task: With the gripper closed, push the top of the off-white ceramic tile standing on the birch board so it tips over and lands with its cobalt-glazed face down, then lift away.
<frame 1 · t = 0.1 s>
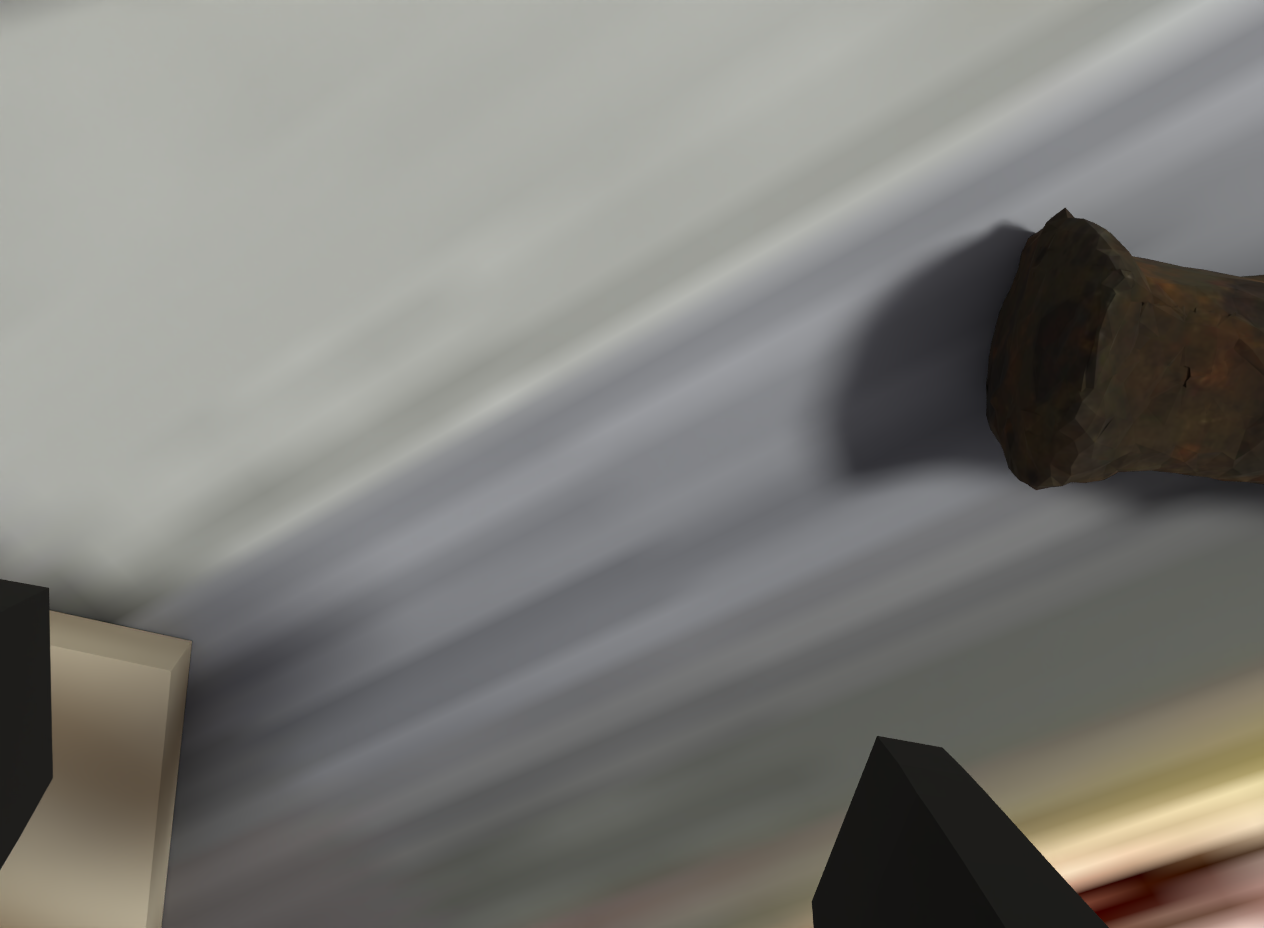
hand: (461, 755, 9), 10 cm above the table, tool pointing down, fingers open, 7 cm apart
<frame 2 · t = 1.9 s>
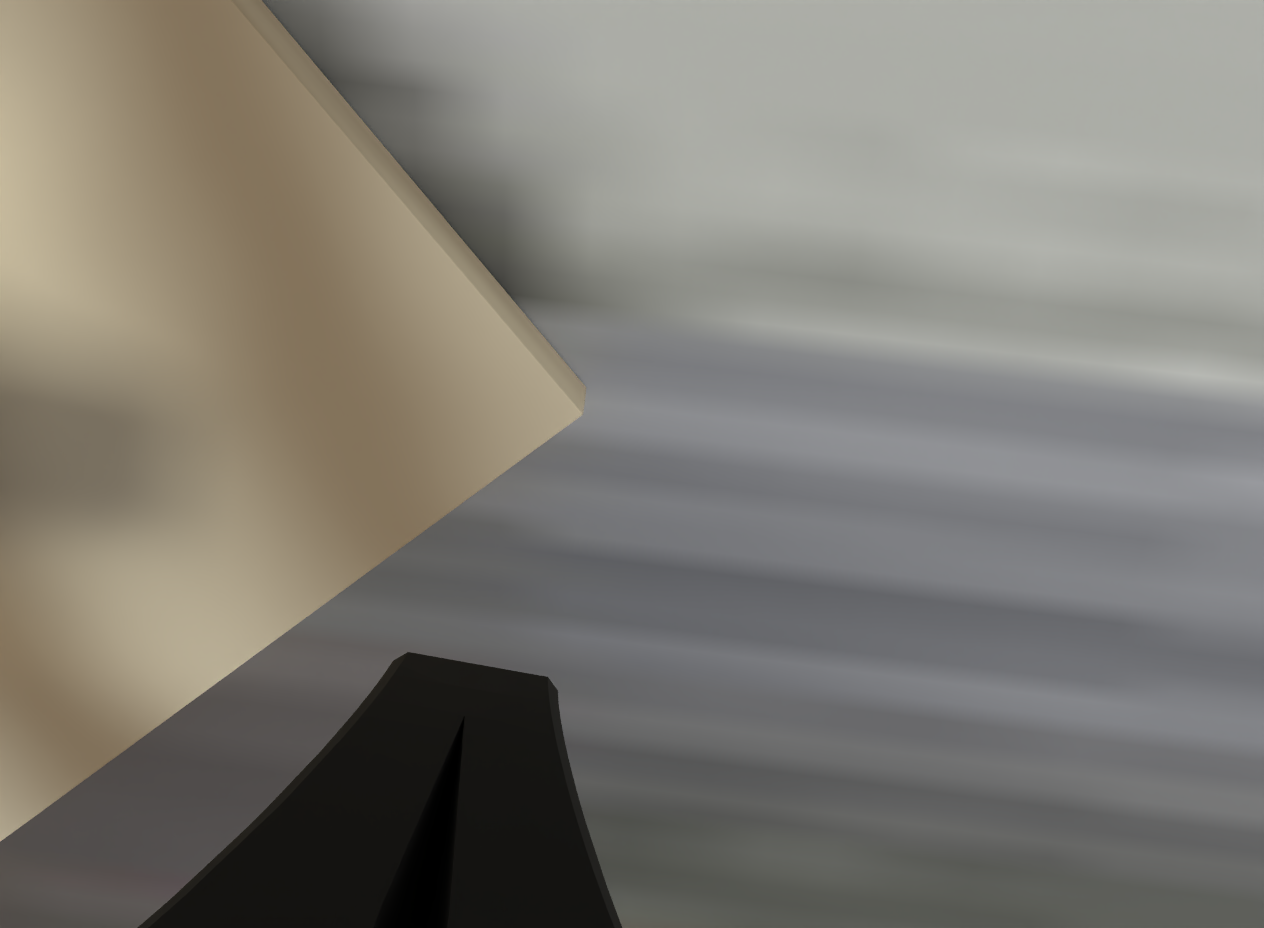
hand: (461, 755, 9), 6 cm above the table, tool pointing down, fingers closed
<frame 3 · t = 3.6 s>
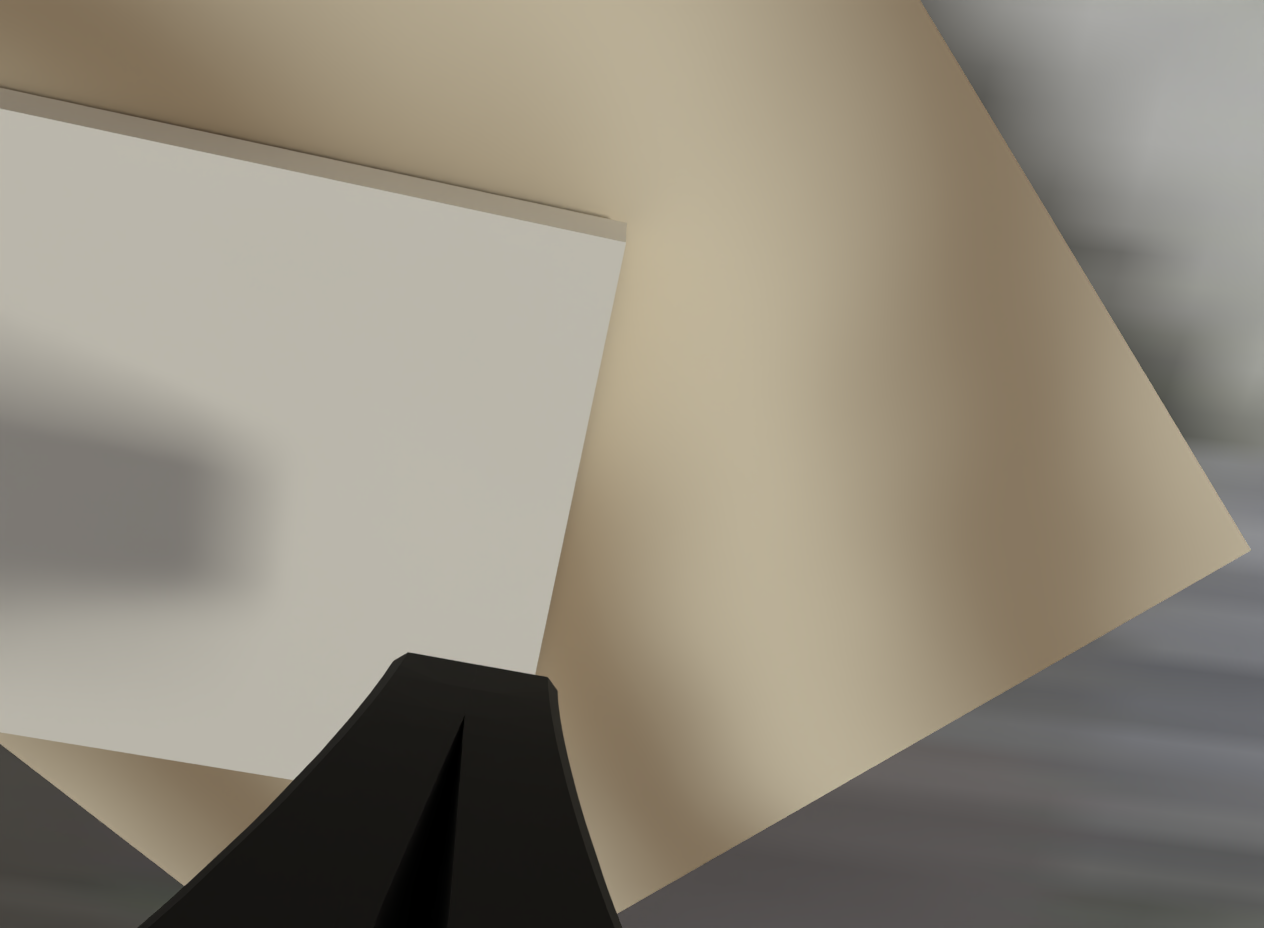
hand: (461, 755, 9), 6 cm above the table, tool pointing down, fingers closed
board: (450, 453, 14), on the table
tile: (560, 544, 13), point 2 cm above the table, tilted 90°, touching board
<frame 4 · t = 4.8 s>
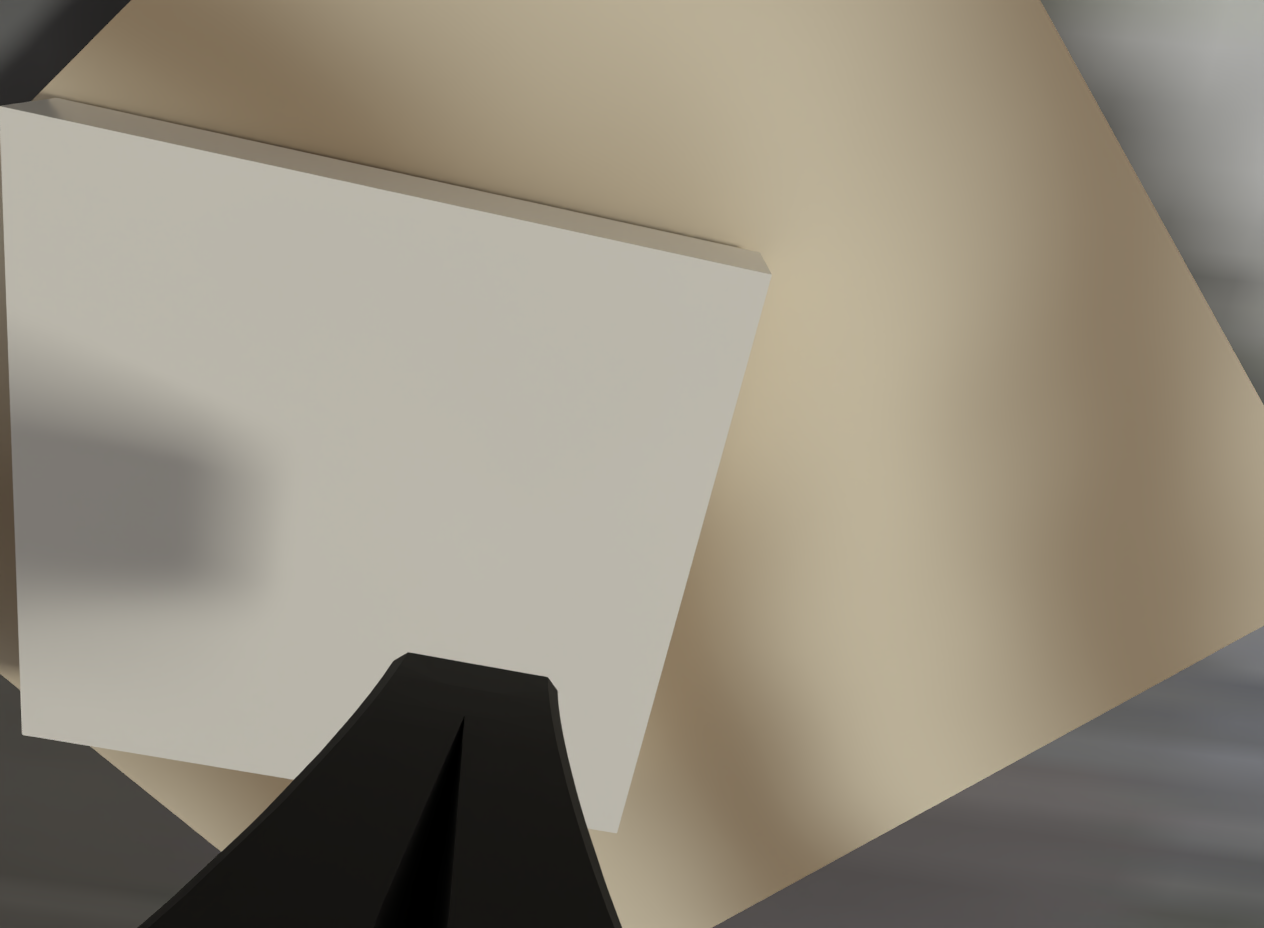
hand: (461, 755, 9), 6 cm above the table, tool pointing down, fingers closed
board: (560, 474, 14), on the table
tile: (682, 567, 13), point 2 cm above the table, tilted 90°, touching board
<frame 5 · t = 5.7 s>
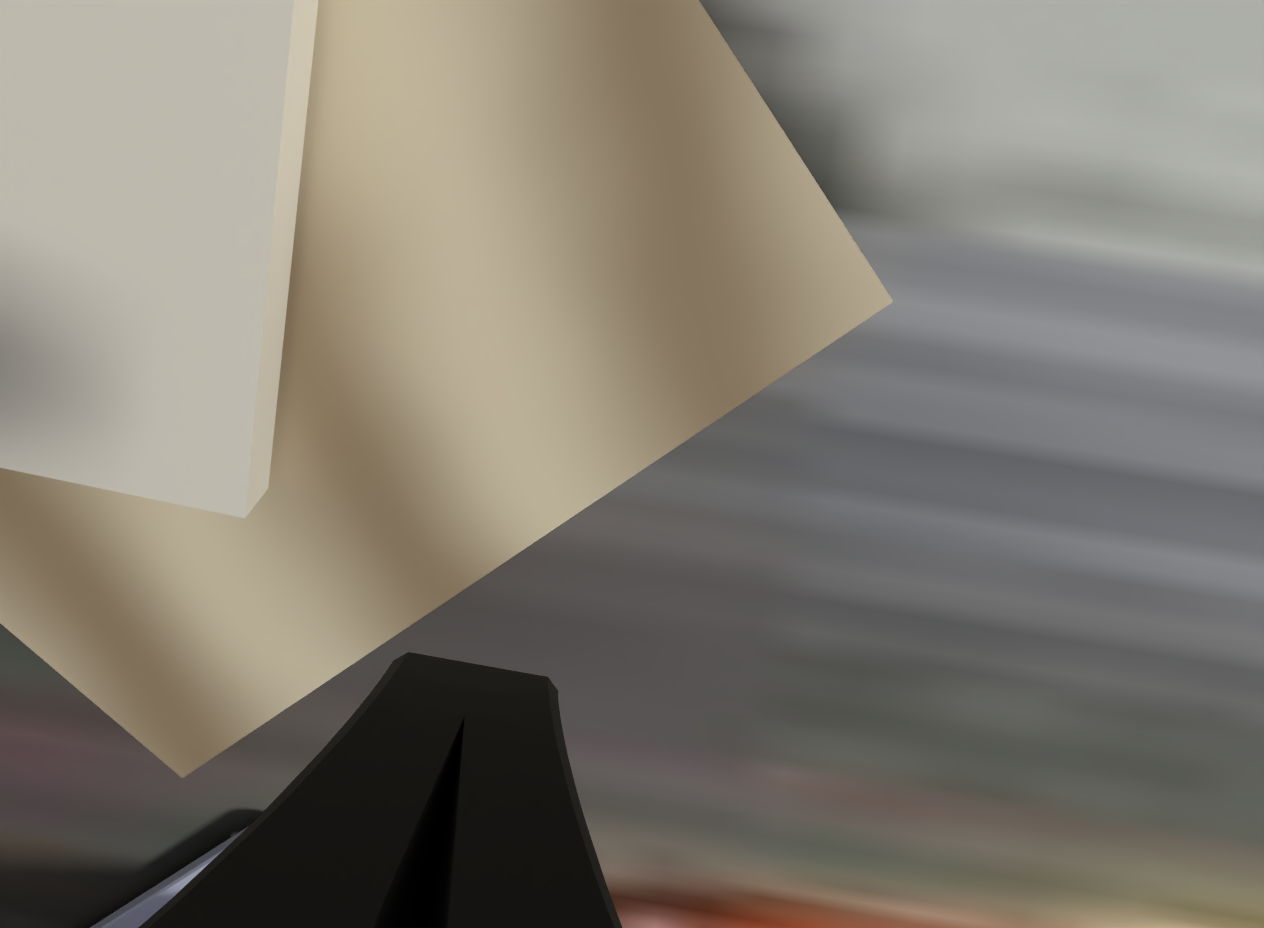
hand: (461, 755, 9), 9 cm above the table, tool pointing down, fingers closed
board: (208, 207, 16), on the table
tile: (280, 265, 15), point 2 cm above the table, tilted 90°, touching board
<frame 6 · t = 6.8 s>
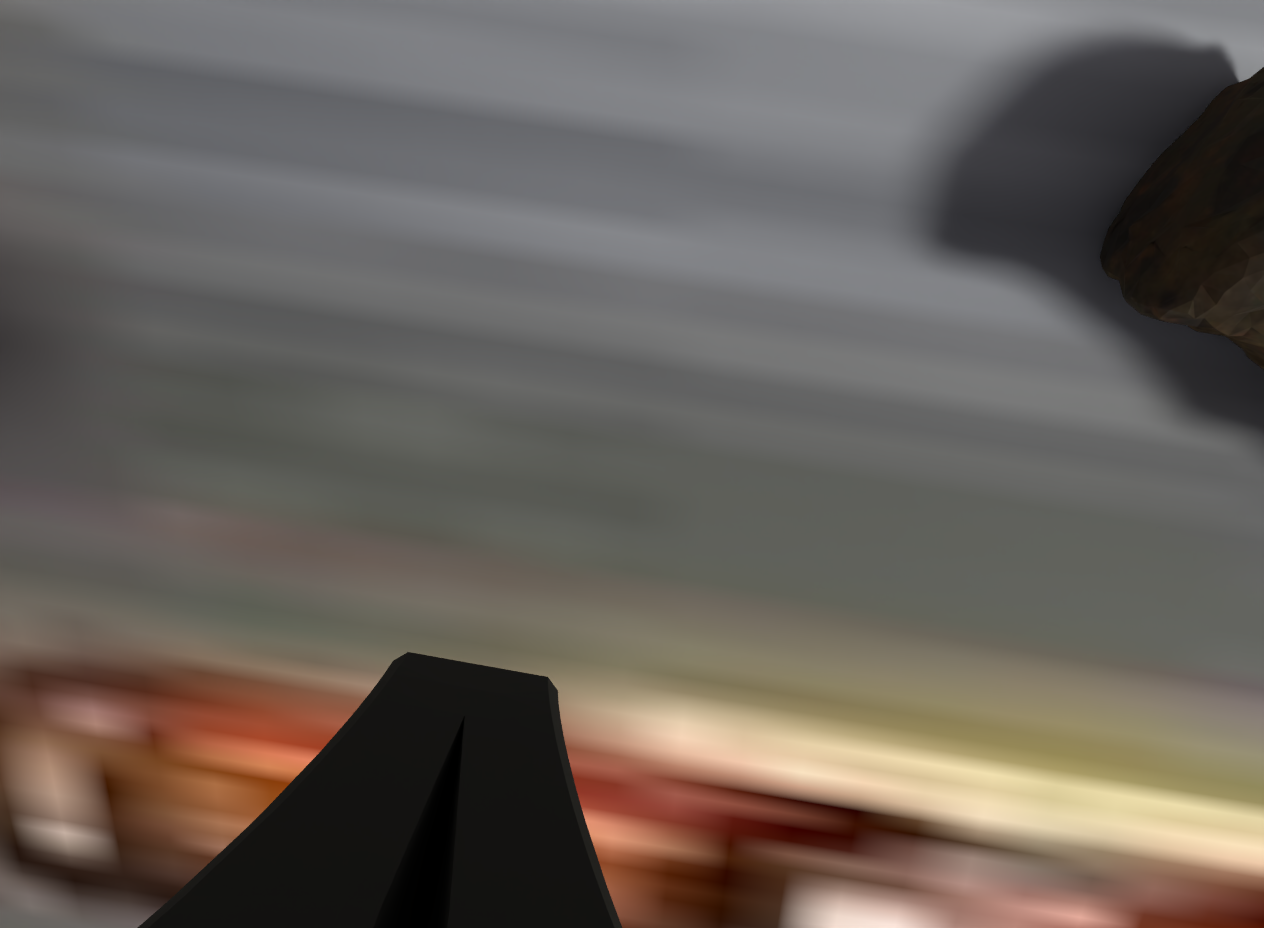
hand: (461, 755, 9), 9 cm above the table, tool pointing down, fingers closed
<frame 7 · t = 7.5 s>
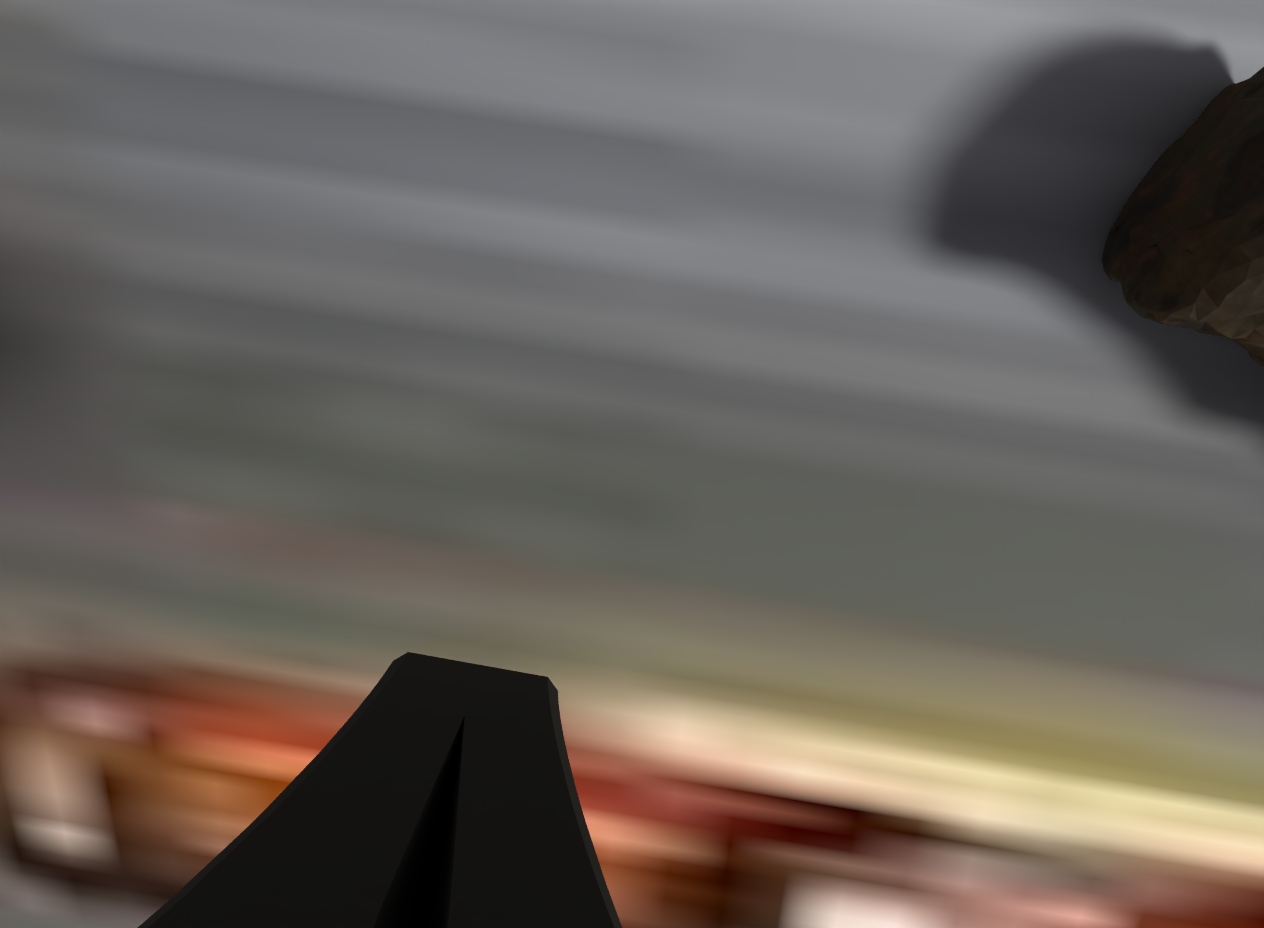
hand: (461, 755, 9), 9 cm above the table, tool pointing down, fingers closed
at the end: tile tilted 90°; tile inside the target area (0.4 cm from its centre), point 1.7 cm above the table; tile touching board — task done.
